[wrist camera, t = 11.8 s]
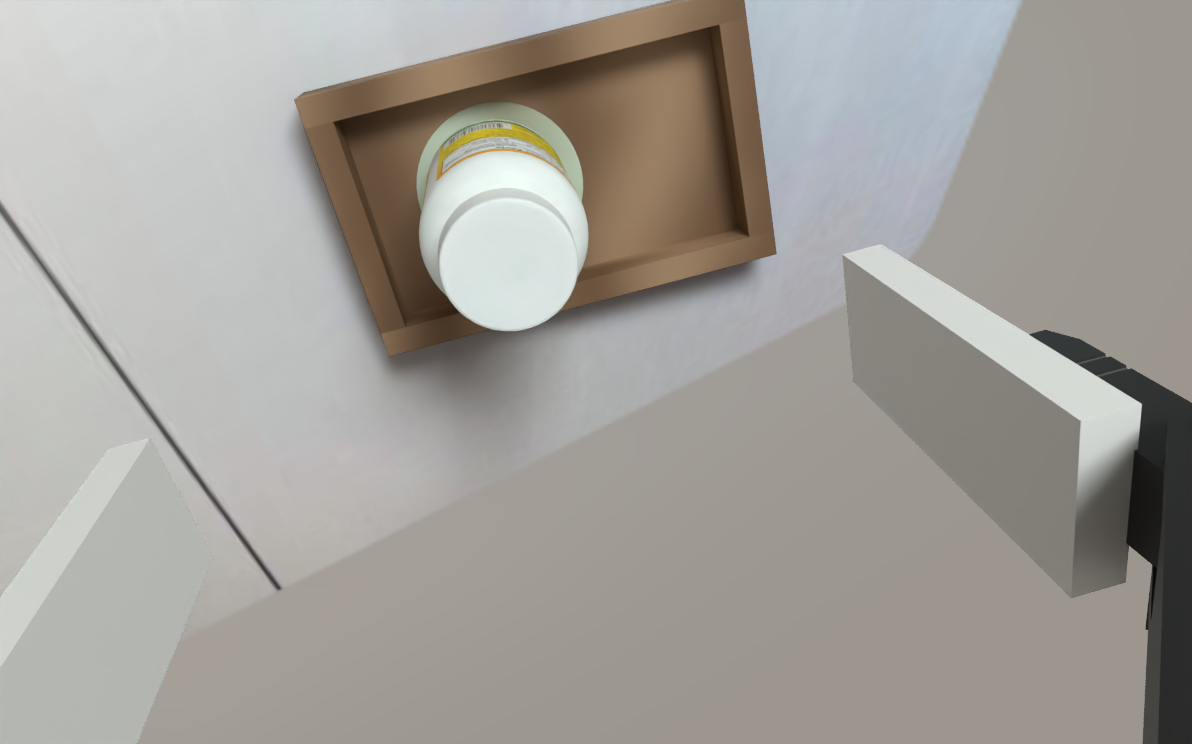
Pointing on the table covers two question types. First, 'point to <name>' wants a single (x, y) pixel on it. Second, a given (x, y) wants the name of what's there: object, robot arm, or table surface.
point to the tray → (561, 153)
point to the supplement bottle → (502, 226)
